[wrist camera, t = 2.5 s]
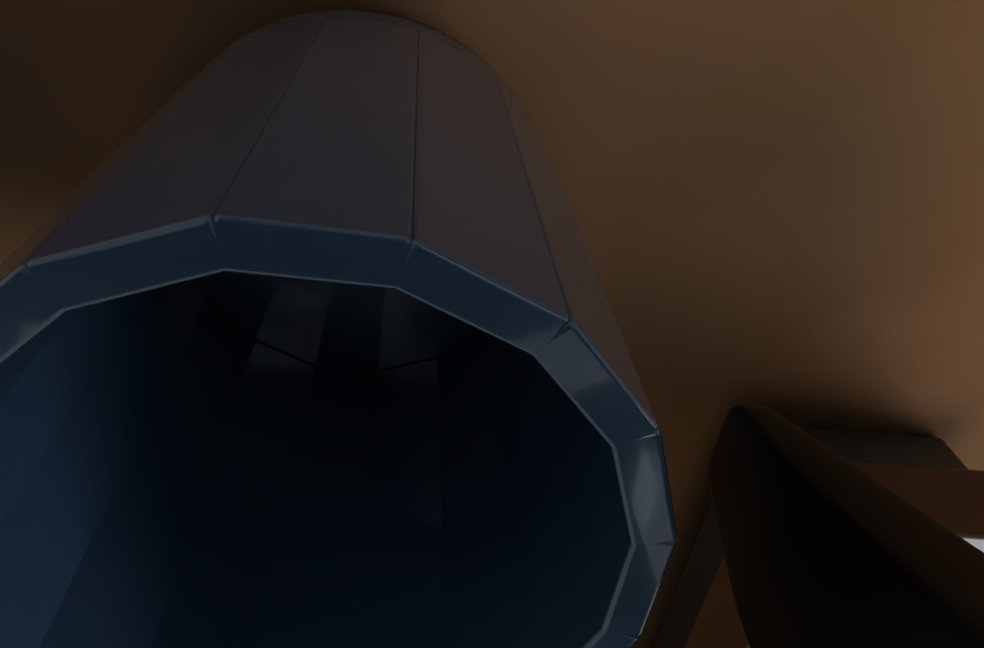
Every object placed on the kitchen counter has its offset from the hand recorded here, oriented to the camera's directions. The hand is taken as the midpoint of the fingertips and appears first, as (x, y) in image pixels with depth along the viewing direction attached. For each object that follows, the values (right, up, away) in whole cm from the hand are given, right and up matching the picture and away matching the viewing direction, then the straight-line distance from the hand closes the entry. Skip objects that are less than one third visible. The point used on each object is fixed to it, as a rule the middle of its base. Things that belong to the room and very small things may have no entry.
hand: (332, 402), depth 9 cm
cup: (0, +3, +4) cm, 5 cm away
